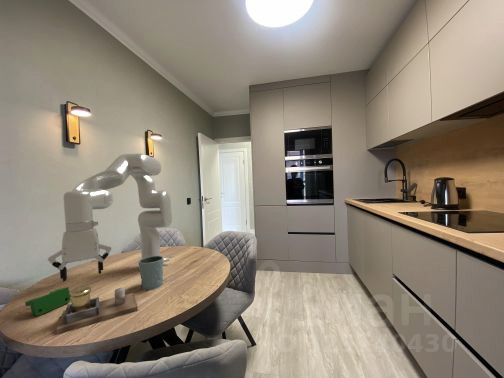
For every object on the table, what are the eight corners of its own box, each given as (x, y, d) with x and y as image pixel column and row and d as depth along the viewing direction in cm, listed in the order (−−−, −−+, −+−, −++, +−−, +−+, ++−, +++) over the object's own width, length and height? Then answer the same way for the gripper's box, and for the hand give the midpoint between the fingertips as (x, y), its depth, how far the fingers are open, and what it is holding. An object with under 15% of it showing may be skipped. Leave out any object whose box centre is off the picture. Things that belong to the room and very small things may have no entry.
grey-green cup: (168, 282, 104) (168, 256, 104) (152, 292, 95) (151, 263, 95) (151, 280, 108) (150, 255, 107) (134, 289, 98) (133, 261, 98)
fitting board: (133, 296, 91) (133, 280, 91) (137, 310, 80) (136, 292, 80) (63, 314, 79) (62, 296, 79) (56, 334, 68) (56, 313, 68)
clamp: (57, 314, 88) (64, 288, 92) (67, 312, 86) (73, 287, 90) (18, 317, 78) (27, 289, 82) (28, 316, 76) (36, 287, 80)
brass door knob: (92, 307, 81) (91, 284, 81) (91, 314, 76) (90, 290, 76) (71, 312, 78) (70, 289, 78) (69, 320, 73) (68, 296, 73)
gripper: (109, 222, 85) (112, 266, 86) (48, 228, 75) (52, 279, 76) (109, 225, 79) (112, 273, 79) (43, 232, 69) (47, 287, 70)
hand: (83, 276), depth 78 cm, fingers open, 9 cm apart
